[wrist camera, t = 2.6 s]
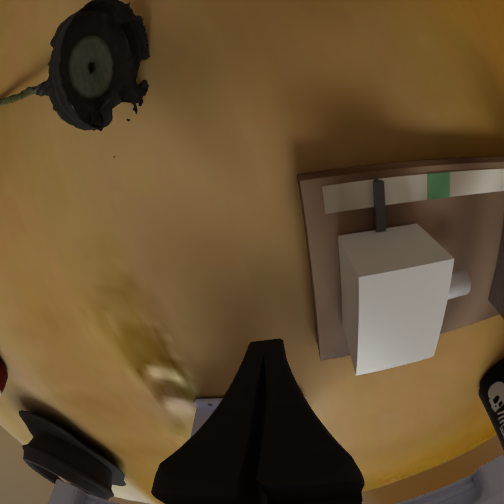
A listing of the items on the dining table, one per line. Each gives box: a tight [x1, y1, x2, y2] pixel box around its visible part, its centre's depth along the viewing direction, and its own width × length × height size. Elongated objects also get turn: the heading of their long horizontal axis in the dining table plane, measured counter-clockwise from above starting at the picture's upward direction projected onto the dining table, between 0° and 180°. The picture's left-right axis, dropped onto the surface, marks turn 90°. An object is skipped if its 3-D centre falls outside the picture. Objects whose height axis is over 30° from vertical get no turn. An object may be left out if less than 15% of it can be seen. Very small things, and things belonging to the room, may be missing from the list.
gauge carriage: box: [338, 180, 471, 376], centre depth 13 cm, size 7×9×4 cm
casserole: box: [19, 410, 126, 500], centre depth 31 cm, size 25×19×8 cm
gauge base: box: [297, 157, 504, 360], centre depth 16 cm, size 18×12×2 cm, turn 101°
